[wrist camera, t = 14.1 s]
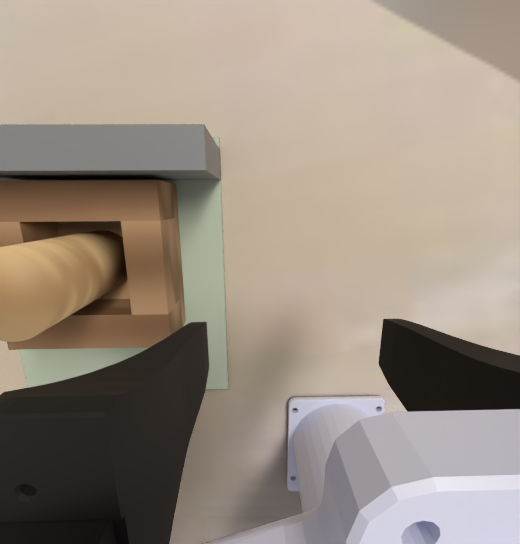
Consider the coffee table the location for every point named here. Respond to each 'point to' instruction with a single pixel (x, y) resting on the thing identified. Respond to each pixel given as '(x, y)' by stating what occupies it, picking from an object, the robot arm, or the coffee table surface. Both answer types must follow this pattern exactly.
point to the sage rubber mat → (197, 294)
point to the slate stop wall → (108, 152)
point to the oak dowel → (56, 279)
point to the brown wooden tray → (137, 247)
